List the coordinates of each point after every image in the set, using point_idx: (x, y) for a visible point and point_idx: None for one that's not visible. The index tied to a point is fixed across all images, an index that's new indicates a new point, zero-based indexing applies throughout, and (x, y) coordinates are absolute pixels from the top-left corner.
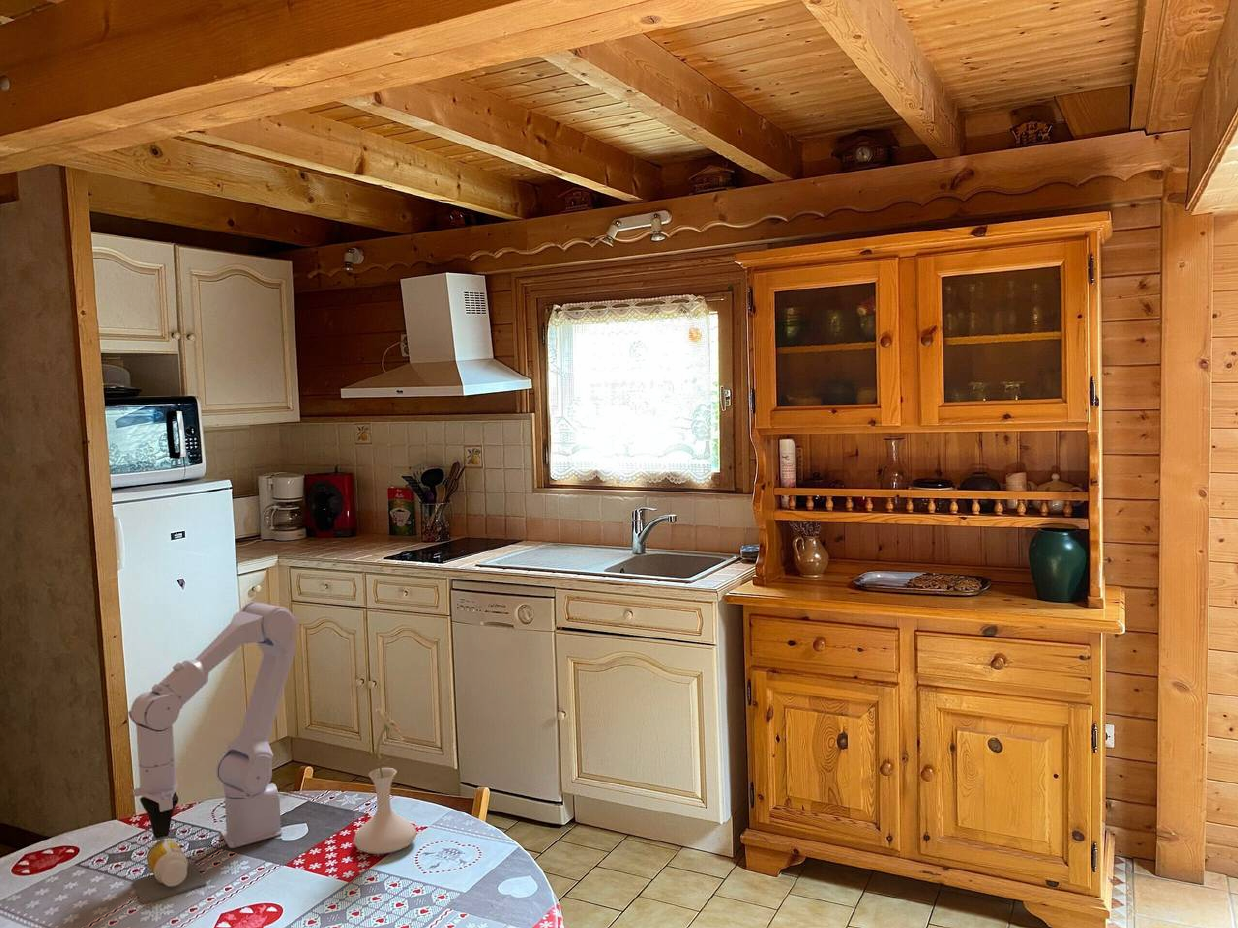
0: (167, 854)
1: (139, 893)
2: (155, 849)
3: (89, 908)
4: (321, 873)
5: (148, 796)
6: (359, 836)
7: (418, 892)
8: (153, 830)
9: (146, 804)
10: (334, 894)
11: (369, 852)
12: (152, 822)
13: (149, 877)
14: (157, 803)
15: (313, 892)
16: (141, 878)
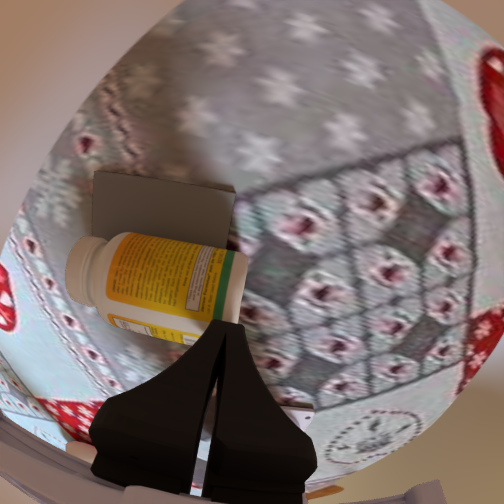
0: (99, 294)
1: (140, 179)
2: (185, 288)
3: (174, 59)
4: (62, 401)
5: (40, 477)
6: (89, 458)
7: (6, 401)
8: (202, 336)
9: (109, 434)
10: (14, 374)
11: (74, 441)
12: (178, 361)
13: (213, 232)
14: (97, 453)
15: (23, 368)
16: (225, 214)
